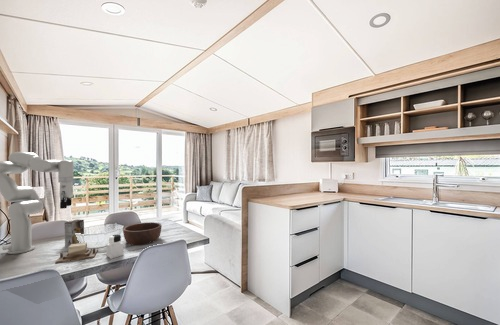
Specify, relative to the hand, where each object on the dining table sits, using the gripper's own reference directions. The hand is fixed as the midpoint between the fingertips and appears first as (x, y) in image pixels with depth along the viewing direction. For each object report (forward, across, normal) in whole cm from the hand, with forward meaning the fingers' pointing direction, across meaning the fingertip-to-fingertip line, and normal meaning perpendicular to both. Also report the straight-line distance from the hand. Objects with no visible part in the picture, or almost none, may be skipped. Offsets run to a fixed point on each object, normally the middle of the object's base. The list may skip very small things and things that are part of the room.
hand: (65, 207), depth 148 cm
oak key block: (+27, -13, -9) cm, 31 cm away
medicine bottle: (+28, -21, -29) cm, 46 cm away
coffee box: (+28, +15, -1) cm, 32 cm away
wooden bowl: (+28, +2, -44) cm, 52 cm away
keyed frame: (+28, -13, -9) cm, 32 cm away
